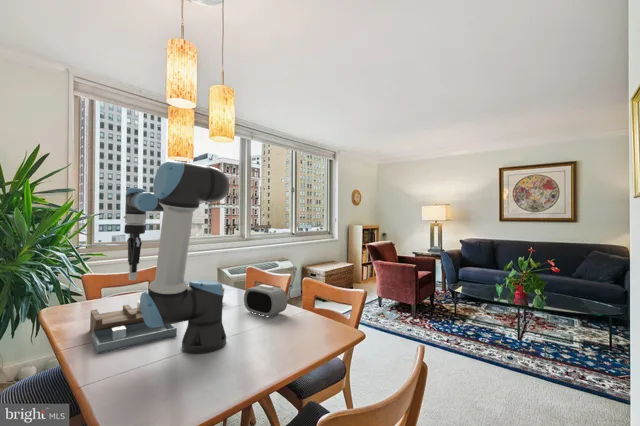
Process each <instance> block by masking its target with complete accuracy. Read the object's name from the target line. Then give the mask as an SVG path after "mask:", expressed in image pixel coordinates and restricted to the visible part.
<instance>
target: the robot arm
mask: <svg viewBox="0 0 640 426" xmlns="http://www.w3.org/2000/svg"><path fill="white" fill-rule="evenodd" d="M152 187H153V192H150V191H147V189H145V188H140V187H128V188H126V192H125V193H126V194H125V211H124V212H125V213H124V214H125V215H123V219H124V223H125V225H124V228H123V229H124V234H127V235H129V237H128V238H127V262H128V281H136V280H138V264H140V257H141V249H142V244H143V243H142V238H141V237H140V235H144V234H145V233H146V225H145V224H146V223H147V222H146V221H147V220H146V219H147V215H146V213H147V212H162V220H161V227H160V236H159V245H158V252H157V259H156V260H157V261H156V269H155V275H154V276H155V278H154V280H153V281H151V282H150V283H149V285H148V290H147V291H144V292H142V293H141V294H140V299H139V301H140V307H141V313H142V317H143V320H144V322H145V324H146V325H147V326H148V327H150V328H155V327H164V326H166V325H170V324H173V325H175V324H178V323H183V322H187V326H186V330H185V332H184V335H183V338H182V341H181V350H182V351H184V352H186V353H189V354H197V355H198V354H199V355H200V354H206V353H211V352H212V353H213V352H215V351H218V350H221V349H222V348H224V347H225V345H226V344H227V334H226V330H225V328H224V324H223V300H224V296H223V288H224V285H222V283H221V282H218V281H215V280H210V279H209V280H207V279H194V280H190V281H189V283H188V282H186V281H185V274H186V268H187V267H186V266H187V262H188V261H187V259H188V253H189V252H188V251H189V247H190V246H189V245H190V238H191V230H192V222H193V216H194V212H195V211H196V210H198V209H199V208H200V205H203V204H204V203H216V202H219V201H221V200H223V199H225V198H226V197H227V195H228V194H229V192H230V182H229V178H228V176H227V175H226V174H225V173H224V172H223V171H222V170H220V169H218V168H216V167H214V166H211V165H209V166H207V165H201V164H195V163H189V162H185V161H184V162H183V161H176V160H175V161H173V160H167V161H164V162H163V163H161V165H160V166H159V167H158V169H157V170H156V173H155V176H154V179H153V186H152Z"/></svg>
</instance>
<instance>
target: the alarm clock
mask: <svg viewBox="0 0 640 426" xmlns="http://www.w3.org/2000/svg"><path fill="white" fill-rule="evenodd" d="M243 304H244V308H245V309H246V310H247V311H248V312H250V313H251V312H253V313H256V314H260V315H264V316H271V317H273V316H272V315H274V316H276V315H275V314H277V313H280V314H281V313H282V312H284V311H285V310H286V309H287V306H288V296H287V293H286V291H285V290H284V289H283V288H280V287H277V286H273V285H267V284H259V285H256V286H253V287H249V288H247V289H246V290H245V291H244V295H243ZM253 313H252V314H253ZM256 314H255V315H256ZM260 315H259V316H260ZM277 315H278V314H277ZM264 316H263V317H264Z"/></svg>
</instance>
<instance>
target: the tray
mask: <svg viewBox="0 0 640 426" xmlns="http://www.w3.org/2000/svg"><path fill="white" fill-rule="evenodd" d="M124 326H125V328H126V338H125V339H120V340H116V341H112V340H111V328H108V329H102V330H97V331H92V334H91V341H92V344H93V346H94V348H95V351H96V353H97V354H103V353H107V352H112V351H116V350H120V349H125V348H128V347H133V346H138V345H143V344H146V343H151V342H155V341H158V340H159V341H160V340H165V339H169V338H173V337H176V336H177V330H178V328H177V327H176V326H175V324H170V325H166V326H164V327H155V328H150V327H148V326H147V325H146V324H145V322H140V323H134V324H129V325H124ZM118 327H119V326H118Z"/></svg>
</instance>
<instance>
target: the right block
mask: <svg viewBox="0 0 640 426" xmlns="http://www.w3.org/2000/svg"><path fill="white" fill-rule="evenodd" d="M136 304H137V306H136V308H137V311H138V312H139V313H141V307H140V300H137V303H136Z"/></svg>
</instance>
